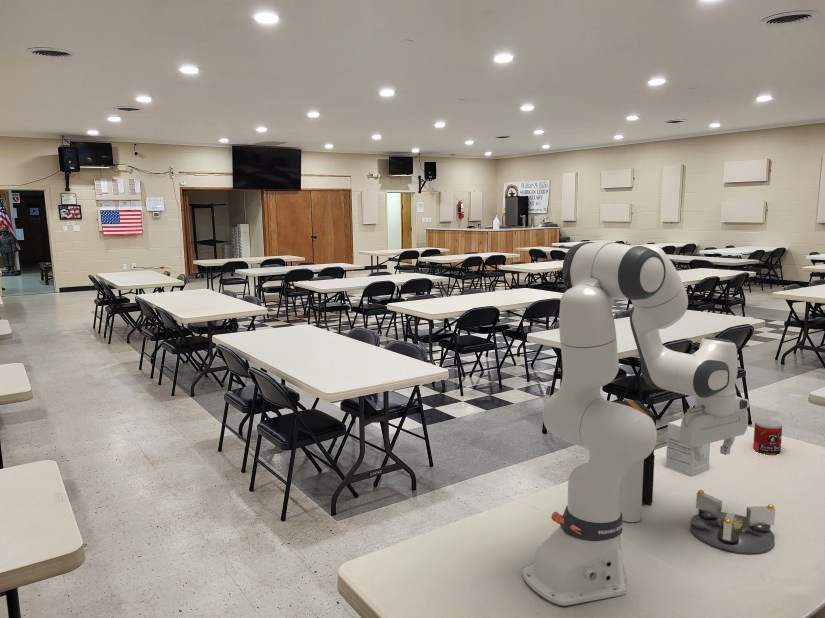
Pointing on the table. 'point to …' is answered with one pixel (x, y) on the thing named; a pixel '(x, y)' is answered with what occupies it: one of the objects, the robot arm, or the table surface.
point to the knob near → (728, 530)
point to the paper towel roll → (632, 493)
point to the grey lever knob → (760, 518)
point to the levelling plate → (745, 537)
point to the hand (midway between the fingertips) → (712, 457)
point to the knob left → (708, 506)
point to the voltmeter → (649, 461)
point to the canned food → (767, 436)
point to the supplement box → (684, 453)
